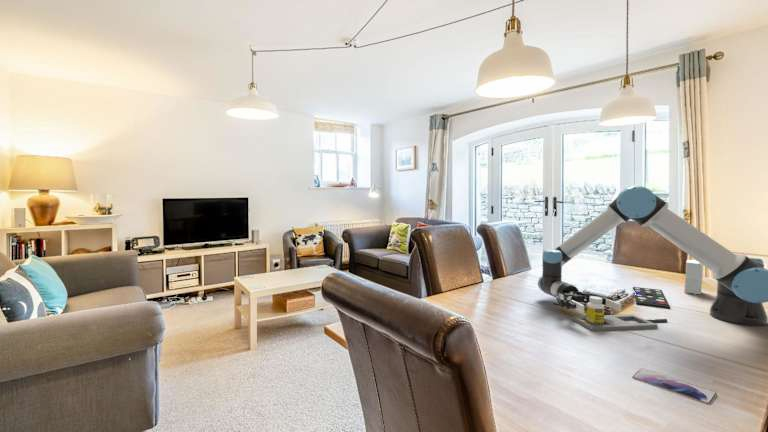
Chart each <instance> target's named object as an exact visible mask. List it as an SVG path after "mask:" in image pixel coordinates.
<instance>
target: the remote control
mask: <svg viewBox="0 0 768 432" xmlns="http://www.w3.org/2000/svg"><path fill="white" fill-rule="evenodd" d="M633 290H634V291H635V292H636V295H635V296H634V300H635V304H636V306H646V307H653V308H660V309H668V310H670V309H671V306H670V304H669V302H668V300H667V298H666V296H665V294H664V292H663V290H662V289H657V288H648V287H647V288H646V287H639V286H632V291H633Z"/></svg>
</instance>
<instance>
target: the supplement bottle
mask: <svg viewBox="0 0 768 432" xmlns="http://www.w3.org/2000/svg"><path fill="white" fill-rule="evenodd" d="M589 301H590V302H588V303H586V315H585V316H586V322H587V323H589V324H591V325H605V324H604V315H605V305H603V304H601V303H602V298H601V297H596V296H590V297H589Z"/></svg>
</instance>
